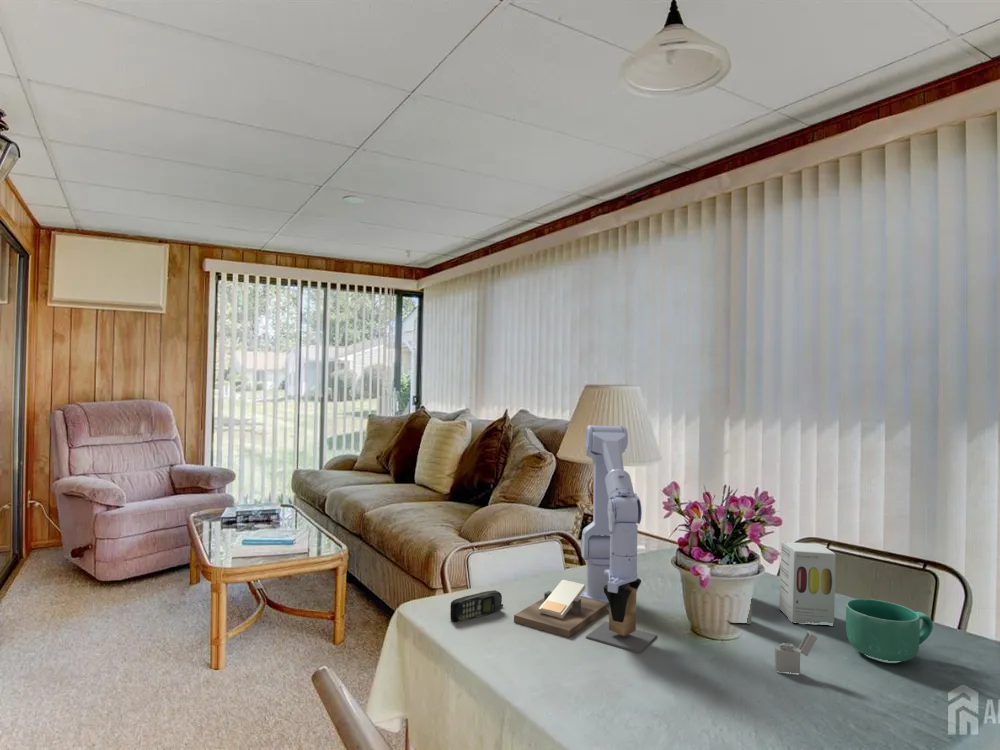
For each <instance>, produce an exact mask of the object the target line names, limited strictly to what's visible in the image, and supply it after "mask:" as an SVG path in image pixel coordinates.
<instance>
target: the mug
mask: <svg viewBox="0 0 1000 750" xmlns="http://www.w3.org/2000/svg"><path fill="white" fill-rule="evenodd" d="M920 620H921V621H922V623H921V625H920ZM933 624H934V623H933V621H932V619H931V617H930V616H929V615H927V614H926V613H924V612H921V611H914V610H913V609H911V608H909V607H906V606H904V605H900V604H897V603H894V602H890V601H885V600H879V599H872V598H871V599H869V598H854V599H850V600H848V601H847V602H846V603H845V629H846V630H845V631H846V636H847V640H848V641H849V644H850V645H851V646H852V647H853V648H854V649H855V650H856V651H858V652H859V653H861V654H862V653H863V654H866V655H868V656H871V657H874V658H878V659H882V660H888V661H904V662H907V660H908V661H910V660H912V659H913V658H915V657H916V655H917V654H918V652H919V648H920V645H921V644H922V643H924V642H925V641H927V639H928V638H929V637H930V635H931V633H932V632H933V628H934V625H933ZM920 626H921V627H920ZM863 654H862V655H863Z"/></svg>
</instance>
